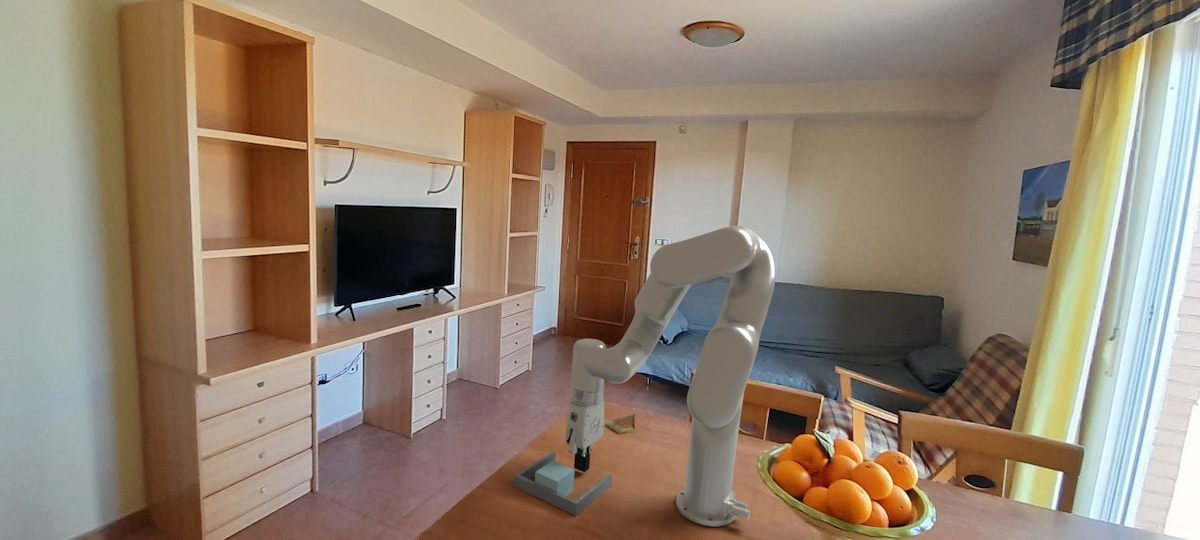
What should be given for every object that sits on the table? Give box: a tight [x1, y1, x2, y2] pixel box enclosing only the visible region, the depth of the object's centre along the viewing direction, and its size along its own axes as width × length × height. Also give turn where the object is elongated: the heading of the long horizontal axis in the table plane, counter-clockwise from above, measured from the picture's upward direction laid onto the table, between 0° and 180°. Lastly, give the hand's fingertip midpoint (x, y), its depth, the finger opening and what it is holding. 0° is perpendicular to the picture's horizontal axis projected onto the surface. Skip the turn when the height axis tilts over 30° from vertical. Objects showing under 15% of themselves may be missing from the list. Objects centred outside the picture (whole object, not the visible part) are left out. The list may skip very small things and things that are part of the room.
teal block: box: [534, 460, 576, 497], centre depth 109 cm, size 6×6×5 cm
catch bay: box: [513, 450, 613, 516], centre depth 111 cm, size 17×14×2 cm
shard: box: [606, 413, 636, 434], centre depth 143 cm, size 11×8×2 cm
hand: (581, 468), depth 117 cm, fingers closed
